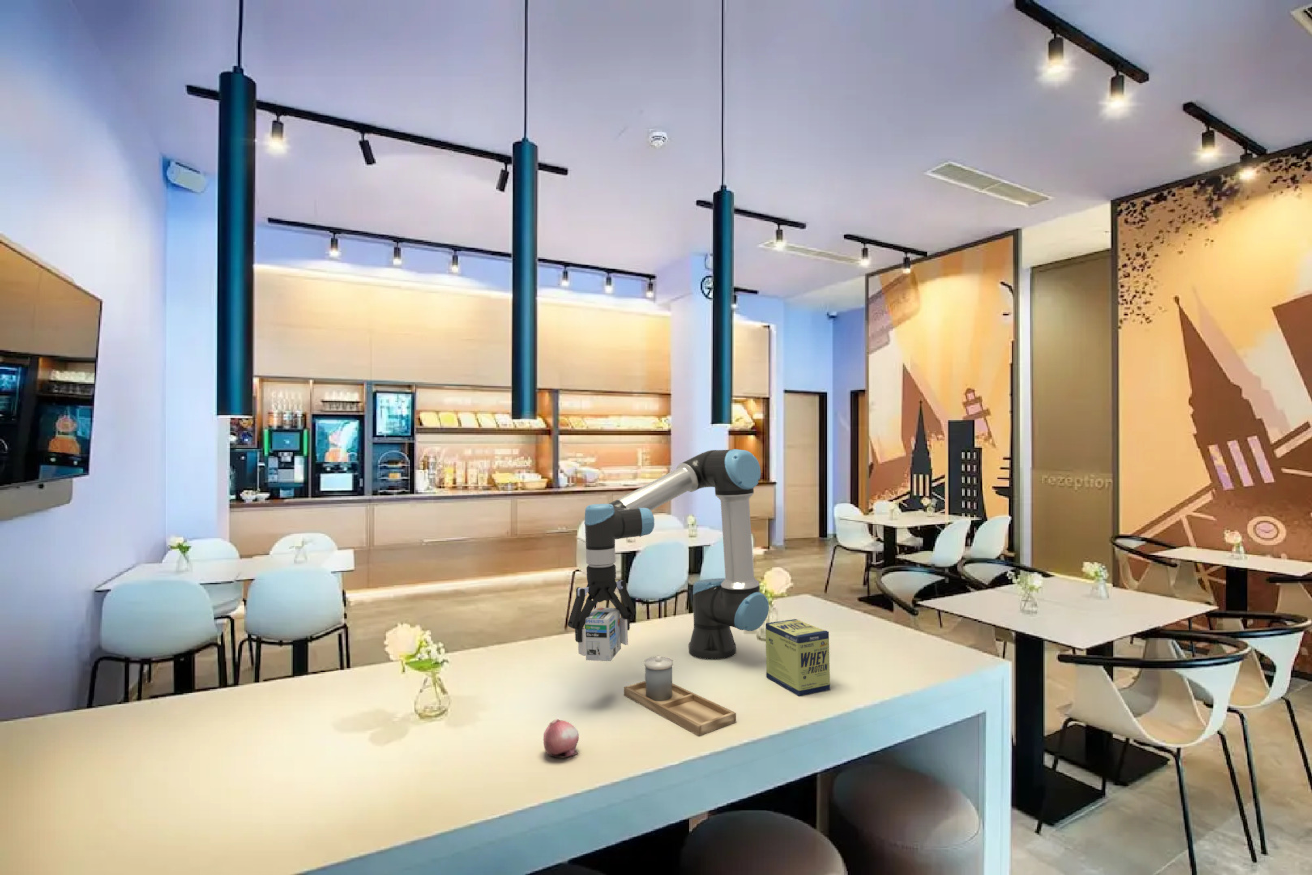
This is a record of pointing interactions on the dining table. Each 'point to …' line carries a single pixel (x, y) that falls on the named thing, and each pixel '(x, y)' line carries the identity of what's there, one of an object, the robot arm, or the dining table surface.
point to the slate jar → (658, 678)
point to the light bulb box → (603, 634)
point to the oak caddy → (684, 709)
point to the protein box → (797, 656)
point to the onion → (560, 739)
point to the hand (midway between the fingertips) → (603, 648)
